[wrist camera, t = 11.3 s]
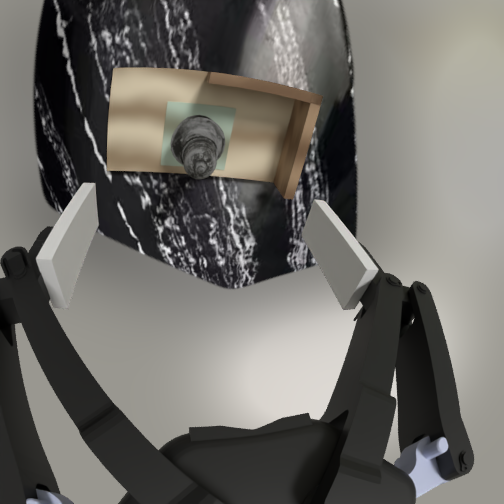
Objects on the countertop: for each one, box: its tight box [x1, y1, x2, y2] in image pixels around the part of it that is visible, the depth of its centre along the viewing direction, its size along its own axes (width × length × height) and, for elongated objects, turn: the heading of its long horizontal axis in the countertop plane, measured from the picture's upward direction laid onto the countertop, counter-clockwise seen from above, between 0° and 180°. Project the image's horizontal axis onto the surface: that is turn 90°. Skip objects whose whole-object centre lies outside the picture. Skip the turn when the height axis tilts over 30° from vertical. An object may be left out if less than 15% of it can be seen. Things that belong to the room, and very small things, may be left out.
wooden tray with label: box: [107, 68, 323, 199], centre depth 28 cm, size 13×23×6 cm, turn 78°
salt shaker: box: [170, 115, 225, 179], centre depth 25 cm, size 6×6×12 cm
